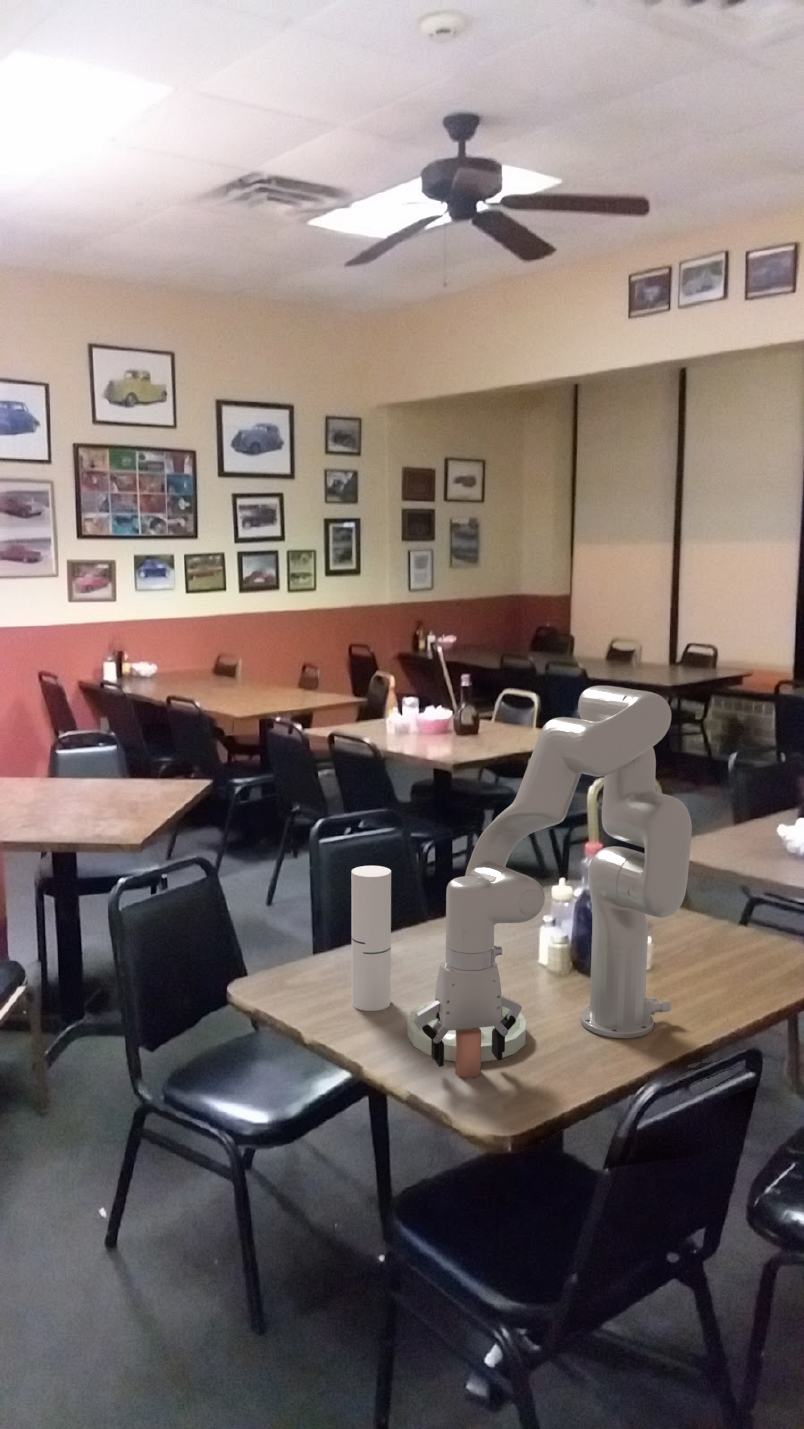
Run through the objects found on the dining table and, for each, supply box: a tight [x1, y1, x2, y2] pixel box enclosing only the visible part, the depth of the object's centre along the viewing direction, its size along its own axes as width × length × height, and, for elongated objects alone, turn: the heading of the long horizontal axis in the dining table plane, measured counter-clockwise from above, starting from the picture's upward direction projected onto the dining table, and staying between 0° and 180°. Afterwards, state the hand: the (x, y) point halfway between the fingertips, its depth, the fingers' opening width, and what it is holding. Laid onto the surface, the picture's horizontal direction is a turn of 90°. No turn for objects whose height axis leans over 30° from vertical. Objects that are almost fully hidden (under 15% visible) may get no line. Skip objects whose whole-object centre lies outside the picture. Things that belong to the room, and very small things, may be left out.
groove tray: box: [407, 999, 527, 1062], centre depth 183 cm, size 20×20×3 cm
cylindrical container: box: [350, 865, 392, 1012], centre depth 194 cm, size 7×7×25 cm
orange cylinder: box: [454, 1028, 482, 1079], centre depth 169 cm, size 4×4×7 cm
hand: (468, 1059), depth 169 cm, fingers open, 9 cm apart
